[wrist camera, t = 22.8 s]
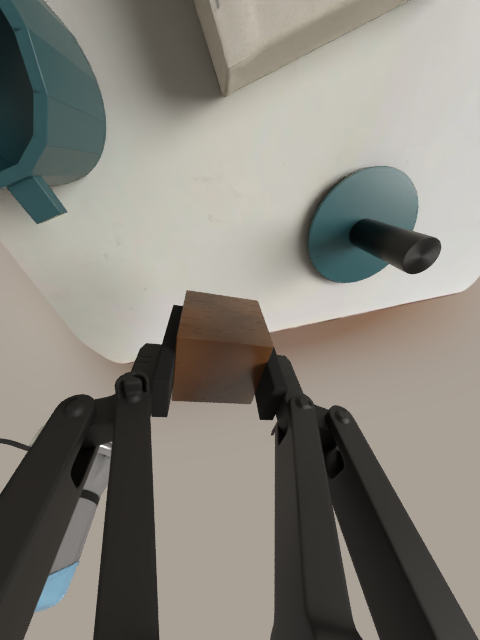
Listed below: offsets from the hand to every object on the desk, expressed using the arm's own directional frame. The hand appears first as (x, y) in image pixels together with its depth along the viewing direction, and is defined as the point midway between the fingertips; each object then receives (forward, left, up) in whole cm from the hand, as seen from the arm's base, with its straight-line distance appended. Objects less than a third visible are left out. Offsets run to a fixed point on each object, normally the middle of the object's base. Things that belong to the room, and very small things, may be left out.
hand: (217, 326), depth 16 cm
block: (0, 0, 0) cm, 0 cm away
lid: (+19, +7, -16) cm, 26 cm away
